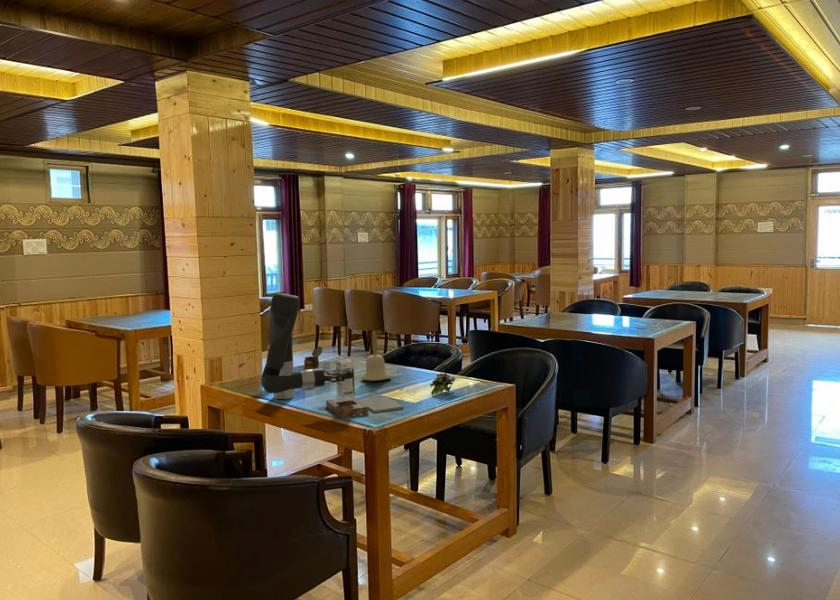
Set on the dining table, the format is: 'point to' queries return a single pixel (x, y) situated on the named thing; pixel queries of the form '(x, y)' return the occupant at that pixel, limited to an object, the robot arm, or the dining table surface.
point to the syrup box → (348, 385)
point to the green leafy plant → (442, 383)
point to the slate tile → (381, 404)
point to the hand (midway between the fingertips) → (350, 373)
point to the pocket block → (346, 406)
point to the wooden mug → (313, 359)
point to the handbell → (375, 364)
